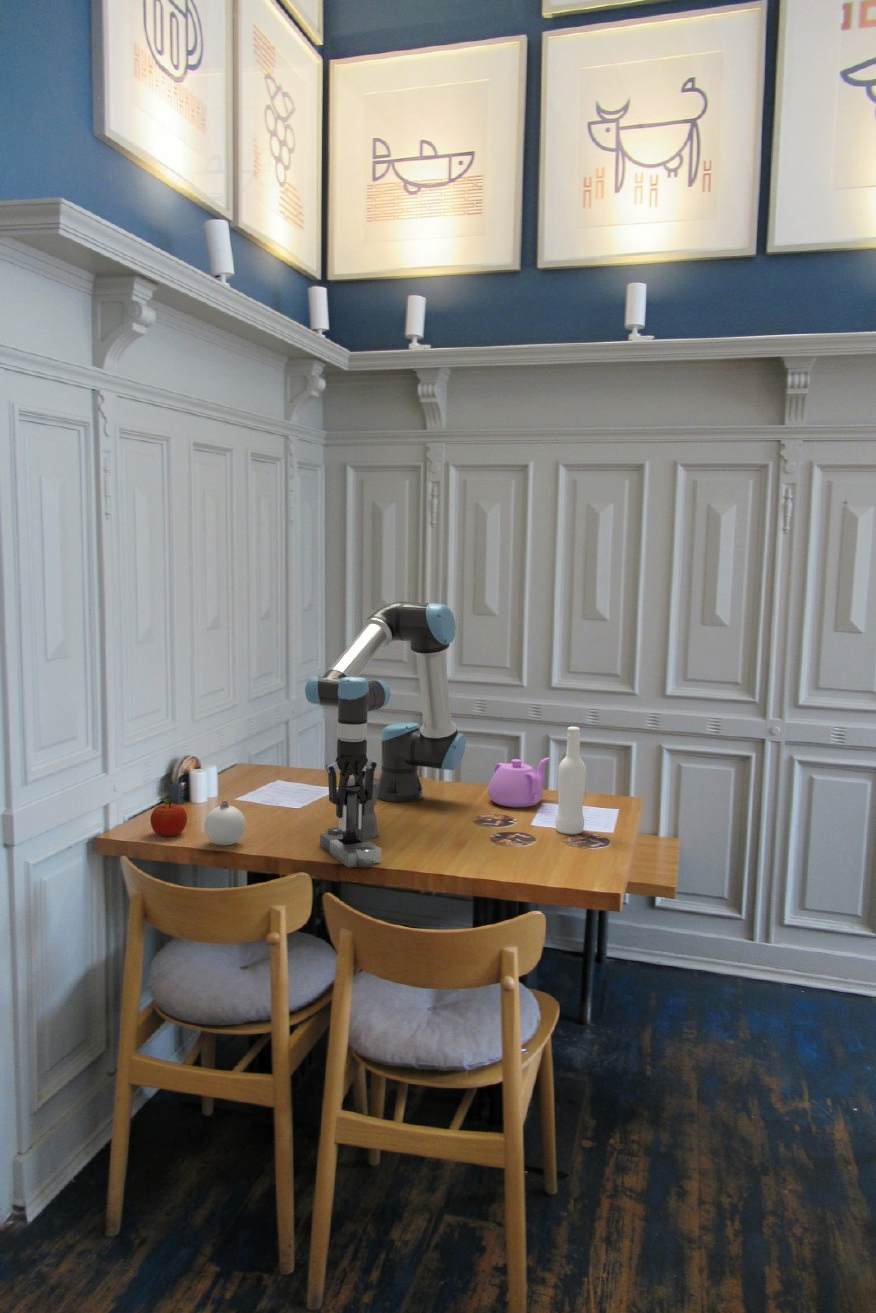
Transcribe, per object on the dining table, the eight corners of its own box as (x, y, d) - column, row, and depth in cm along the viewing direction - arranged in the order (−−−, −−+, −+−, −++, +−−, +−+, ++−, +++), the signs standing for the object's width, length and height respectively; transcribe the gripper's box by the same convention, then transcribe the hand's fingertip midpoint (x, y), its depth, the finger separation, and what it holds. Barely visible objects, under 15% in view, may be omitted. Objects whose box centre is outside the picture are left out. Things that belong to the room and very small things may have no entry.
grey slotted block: (347, 839, 256) (348, 825, 256) (384, 865, 237) (385, 849, 236) (316, 844, 252) (316, 829, 251) (351, 870, 232) (352, 854, 232)
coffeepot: (363, 826, 269) (364, 763, 267) (389, 832, 264) (391, 769, 262) (327, 838, 256) (328, 773, 254) (353, 846, 251) (355, 779, 249)
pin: (363, 840, 243) (364, 786, 241) (344, 842, 240) (345, 788, 239) (354, 834, 247) (356, 781, 246) (336, 837, 245) (337, 783, 243)
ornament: (225, 853, 242) (225, 807, 241) (196, 845, 248) (196, 800, 246) (253, 843, 251) (253, 798, 249) (224, 836, 256) (224, 792, 255)
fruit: (173, 842, 250) (173, 804, 249) (143, 837, 253) (143, 800, 252) (194, 832, 259) (194, 796, 258) (165, 827, 262) (165, 792, 261)
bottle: (586, 828, 273) (591, 726, 270) (580, 836, 266) (586, 730, 262) (558, 825, 276) (562, 723, 272) (552, 832, 268) (557, 728, 265)
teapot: (569, 805, 297) (572, 762, 296) (515, 815, 285) (517, 770, 284) (525, 790, 315) (526, 749, 314) (472, 798, 303) (473, 755, 302)
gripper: (375, 733, 248) (372, 821, 251) (315, 738, 240) (314, 828, 242) (388, 739, 242) (385, 828, 244) (327, 743, 233) (325, 836, 236)
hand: (350, 828), depth 243 cm, fingers closed on pin, 4 cm apart
